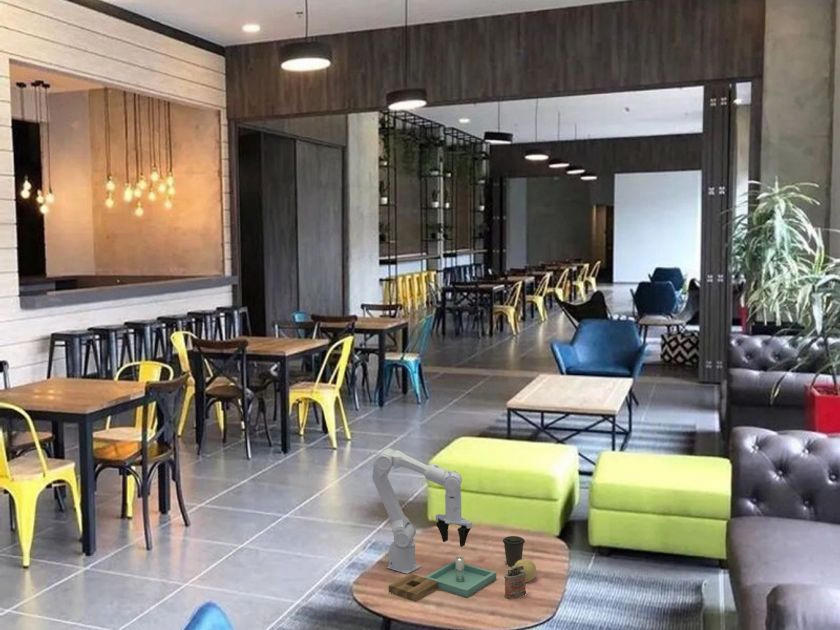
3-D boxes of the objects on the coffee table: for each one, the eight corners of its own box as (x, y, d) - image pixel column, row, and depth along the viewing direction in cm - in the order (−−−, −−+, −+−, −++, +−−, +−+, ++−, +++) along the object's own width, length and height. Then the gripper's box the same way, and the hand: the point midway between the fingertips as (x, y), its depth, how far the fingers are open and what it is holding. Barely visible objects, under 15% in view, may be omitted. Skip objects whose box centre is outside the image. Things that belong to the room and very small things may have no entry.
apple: (537, 584, 282) (525, 566, 280) (517, 589, 286) (506, 571, 285) (542, 569, 288) (531, 552, 287) (523, 574, 292) (512, 557, 291)
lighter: (508, 600, 271) (507, 570, 270) (502, 596, 274) (502, 567, 273) (528, 594, 274) (528, 566, 273) (522, 591, 277) (522, 562, 276)
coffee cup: (500, 567, 298) (499, 540, 297) (506, 558, 305) (506, 532, 304) (521, 570, 295) (521, 543, 294) (527, 561, 302) (527, 535, 301)
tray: (424, 584, 284) (424, 577, 284) (454, 567, 298) (454, 560, 298) (467, 597, 273) (467, 590, 273) (496, 579, 287) (496, 572, 287)
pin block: (388, 592, 278) (388, 585, 278) (410, 580, 288) (410, 573, 287) (416, 601, 271) (416, 594, 271) (438, 588, 280) (438, 581, 280)
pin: (454, 580, 285) (453, 558, 284) (459, 578, 287) (459, 555, 287) (460, 583, 283) (460, 560, 282) (466, 580, 285) (465, 558, 284)
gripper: (430, 505, 293) (430, 542, 295) (463, 513, 284) (464, 551, 286) (442, 500, 299) (442, 536, 300) (475, 508, 290) (475, 545, 291)
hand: (453, 543), depth 293 cm, fingers open, 7 cm apart
